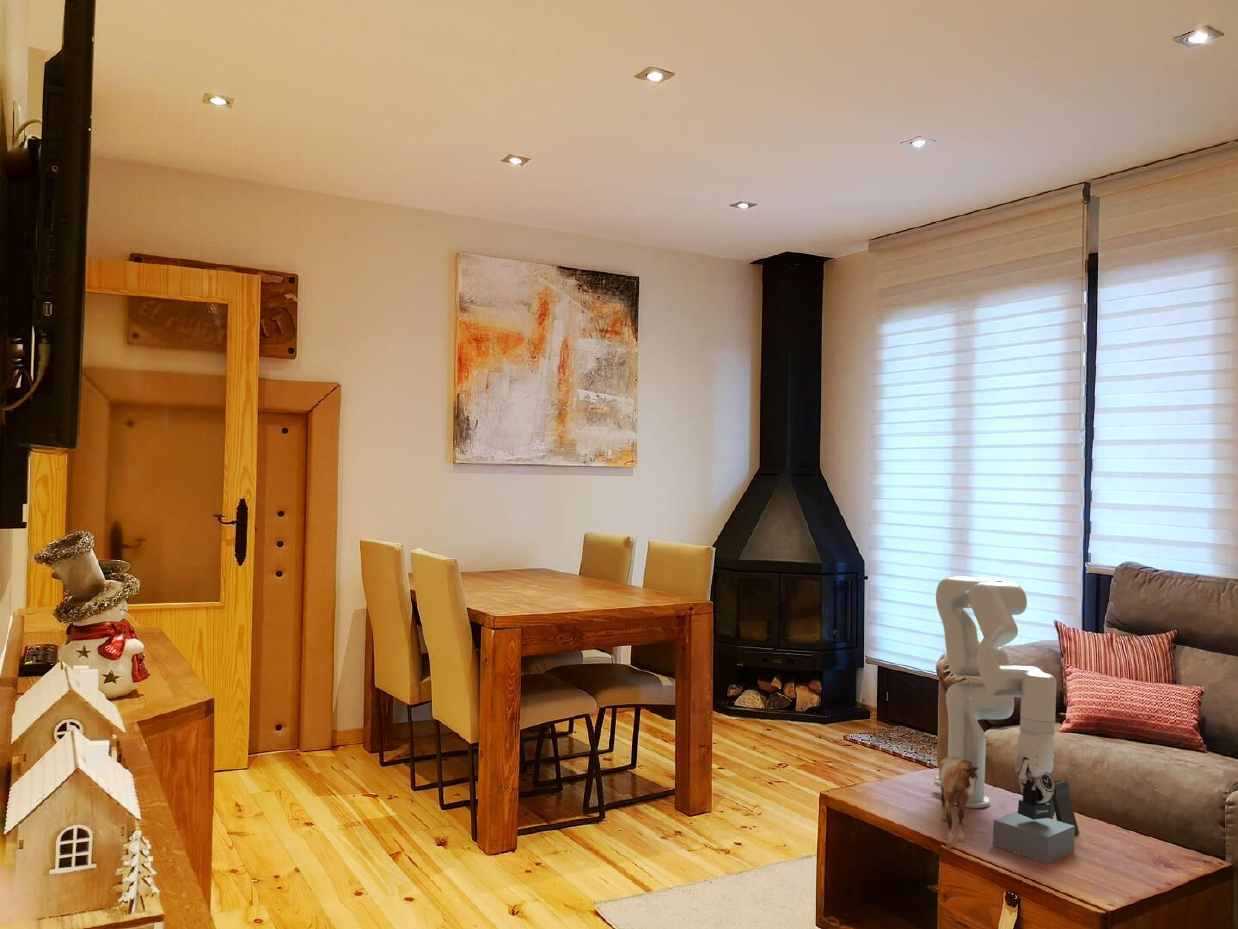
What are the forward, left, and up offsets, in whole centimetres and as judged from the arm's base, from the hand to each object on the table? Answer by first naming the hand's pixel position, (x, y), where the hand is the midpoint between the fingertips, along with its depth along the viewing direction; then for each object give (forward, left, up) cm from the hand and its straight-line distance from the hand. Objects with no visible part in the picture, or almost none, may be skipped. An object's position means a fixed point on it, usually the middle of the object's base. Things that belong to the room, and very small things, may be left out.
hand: (1034, 803), depth 221 cm
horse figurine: (-14, -5, -11) cm, 18 cm away
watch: (0, 0, -3) cm, 3 cm away
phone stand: (-3, +17, -11) cm, 21 cm away
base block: (0, 0, -10) cm, 10 cm away
